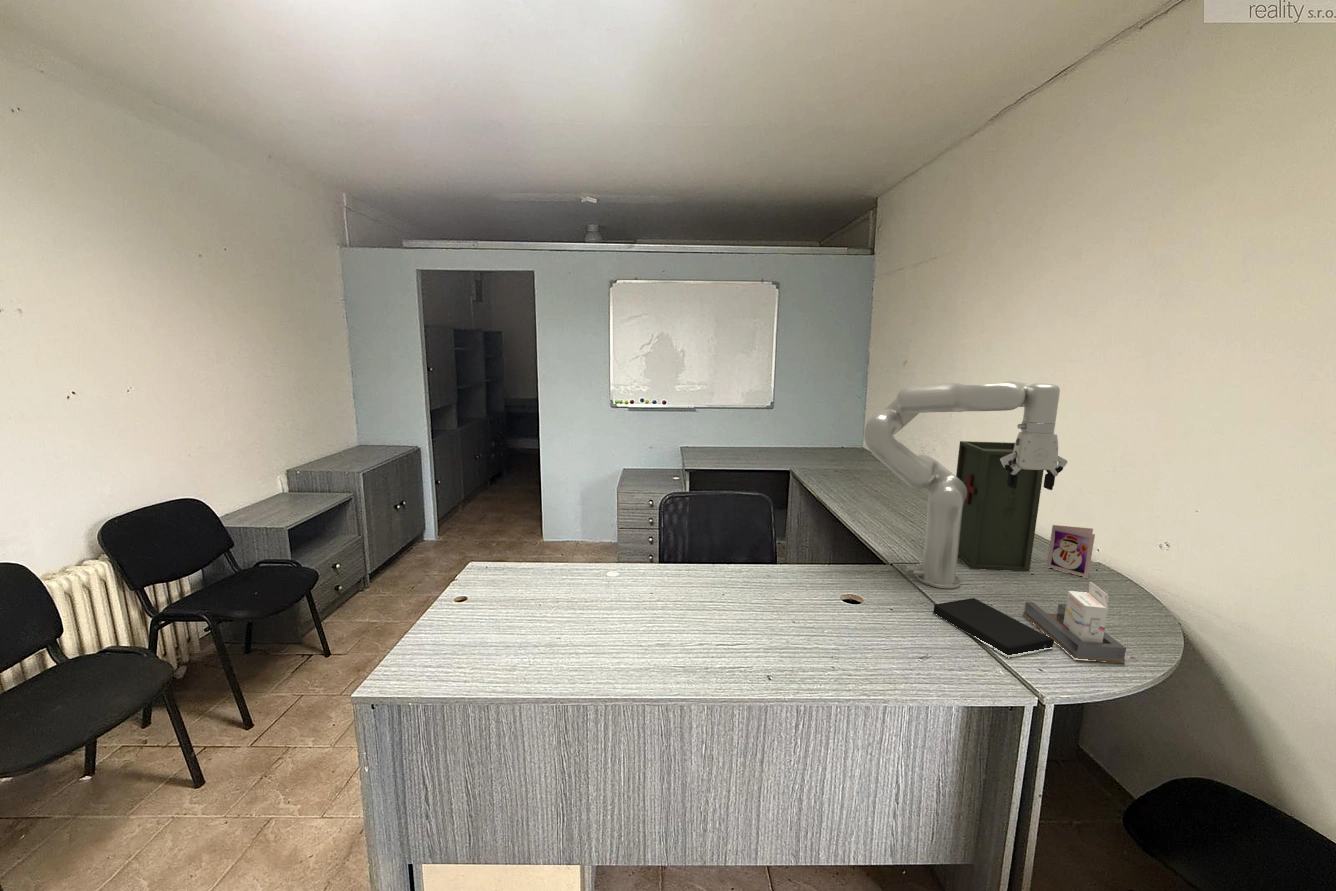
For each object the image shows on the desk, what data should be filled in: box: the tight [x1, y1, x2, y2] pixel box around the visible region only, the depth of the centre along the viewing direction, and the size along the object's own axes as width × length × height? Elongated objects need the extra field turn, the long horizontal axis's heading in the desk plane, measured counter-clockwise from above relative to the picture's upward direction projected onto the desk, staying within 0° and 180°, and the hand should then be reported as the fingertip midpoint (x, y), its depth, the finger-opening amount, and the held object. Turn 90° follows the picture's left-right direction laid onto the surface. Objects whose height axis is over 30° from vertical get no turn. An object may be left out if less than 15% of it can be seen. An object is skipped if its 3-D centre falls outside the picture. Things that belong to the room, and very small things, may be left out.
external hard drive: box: [932, 597, 1054, 655], centre depth 141 cm, size 14×23×3 cm, turn 18°
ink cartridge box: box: [1063, 581, 1110, 643], centre depth 132 cm, size 9×5×15 cm, turn 170°
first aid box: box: [955, 440, 1045, 572], centre depth 185 cm, size 18×18×40 cm
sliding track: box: [1022, 601, 1127, 664], centre depth 137 cm, size 11×22×4 cm, turn 175°
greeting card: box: [1046, 524, 1096, 579], centre depth 178 cm, size 11×7×15 cm, turn 39°
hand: (1029, 488), depth 153 cm, fingers open, 9 cm apart
